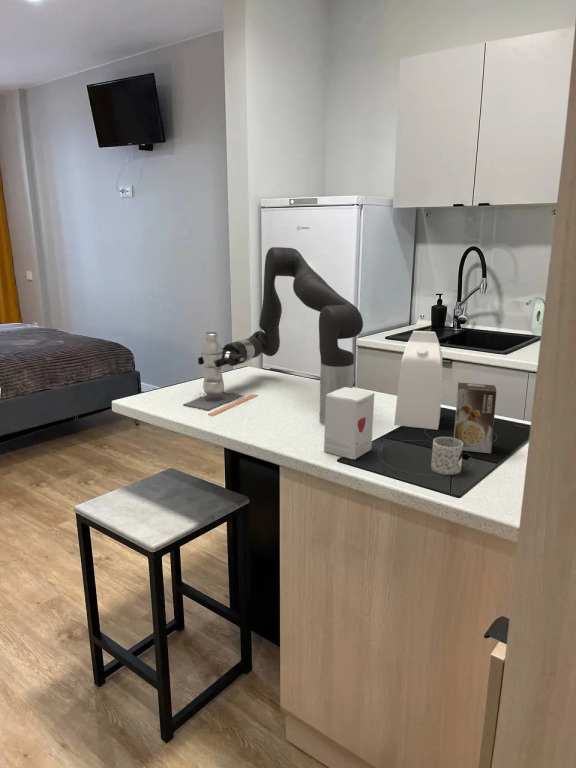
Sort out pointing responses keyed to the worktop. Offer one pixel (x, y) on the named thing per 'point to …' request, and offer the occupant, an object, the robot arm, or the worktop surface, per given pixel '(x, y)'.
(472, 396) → the brown food box
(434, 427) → the milk
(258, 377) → the worktop surface
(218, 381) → the plastic bottle
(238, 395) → the mat
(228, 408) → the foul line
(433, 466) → the mug
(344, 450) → the supplement box
